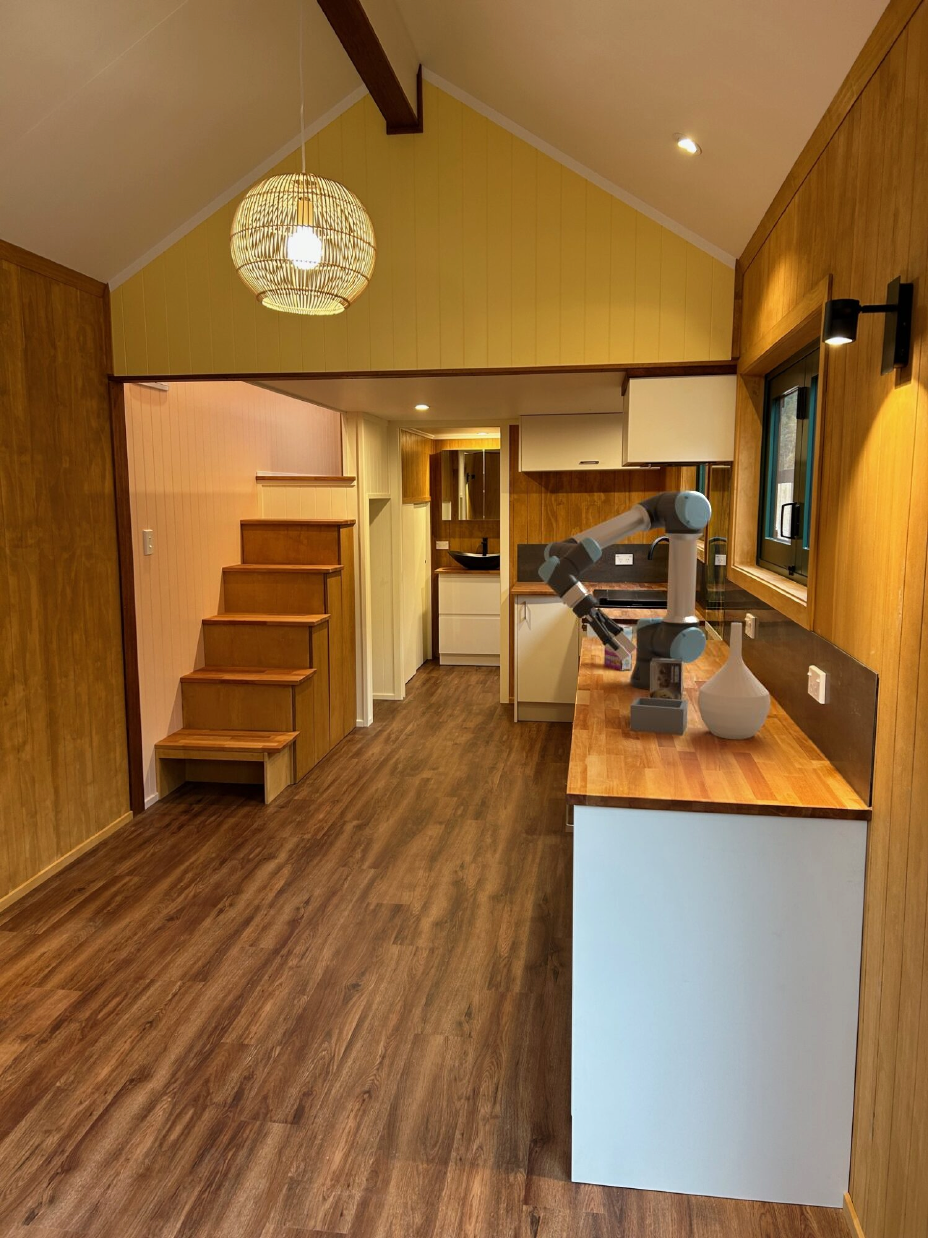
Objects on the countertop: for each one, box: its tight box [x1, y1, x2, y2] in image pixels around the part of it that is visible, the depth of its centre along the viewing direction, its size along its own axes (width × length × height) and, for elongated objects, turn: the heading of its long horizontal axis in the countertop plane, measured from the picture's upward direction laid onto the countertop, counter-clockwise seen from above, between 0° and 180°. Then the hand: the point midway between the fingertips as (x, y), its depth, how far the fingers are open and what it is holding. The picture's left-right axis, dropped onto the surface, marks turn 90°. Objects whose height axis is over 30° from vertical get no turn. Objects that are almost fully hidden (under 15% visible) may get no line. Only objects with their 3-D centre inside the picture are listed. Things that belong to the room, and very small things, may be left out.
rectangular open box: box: [629, 696, 688, 736], centre depth 233 cm, size 11×14×7 cm
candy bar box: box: [603, 623, 634, 672], centre depth 319 cm, size 11×5×16 cm, turn 27°
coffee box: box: [649, 658, 684, 700], centre depth 248 cm, size 9×6×16 cm
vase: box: [697, 622, 771, 740], centre depth 225 cm, size 18×18×30 cm
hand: (630, 654), depth 250 cm, fingers open, 13 cm apart
